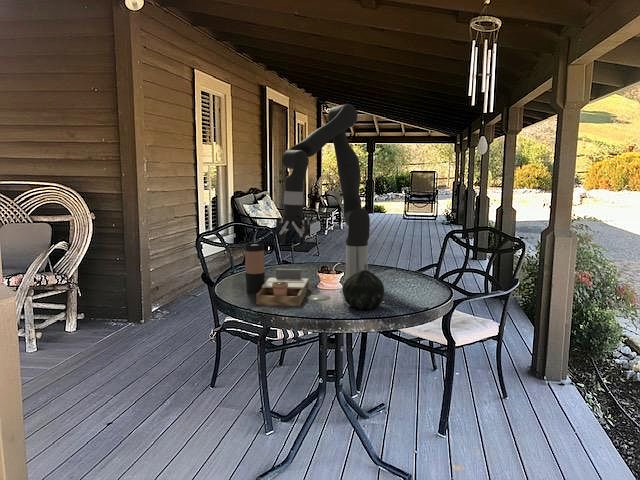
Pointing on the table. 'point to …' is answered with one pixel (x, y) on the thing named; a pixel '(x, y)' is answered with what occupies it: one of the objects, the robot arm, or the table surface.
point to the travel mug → (254, 267)
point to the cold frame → (281, 297)
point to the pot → (280, 288)
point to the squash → (363, 290)
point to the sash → (287, 278)
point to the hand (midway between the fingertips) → (292, 245)
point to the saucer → (318, 297)
